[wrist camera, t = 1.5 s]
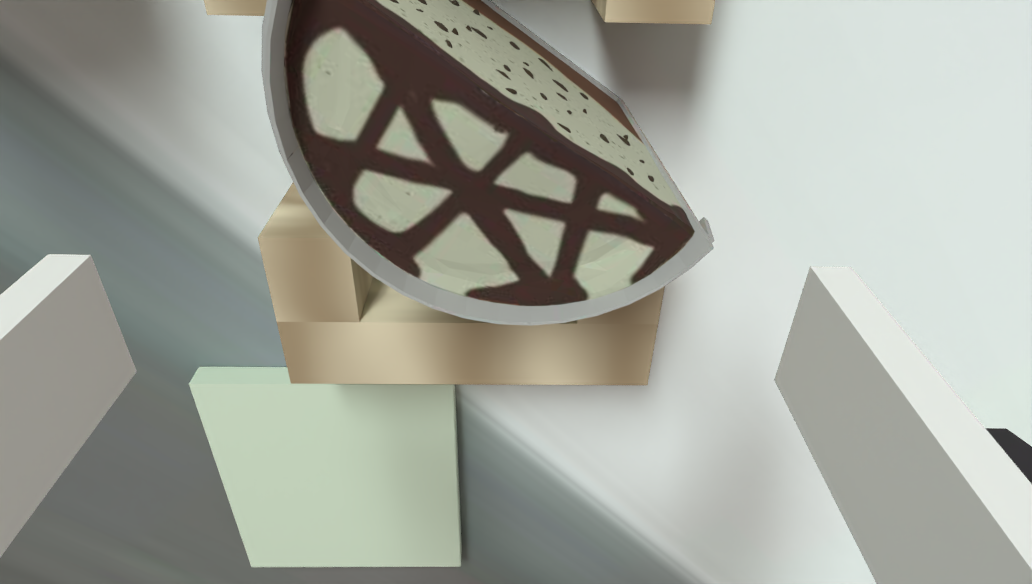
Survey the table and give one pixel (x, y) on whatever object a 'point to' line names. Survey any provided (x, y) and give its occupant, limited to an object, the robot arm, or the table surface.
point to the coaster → (335, 468)
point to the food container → (470, 160)
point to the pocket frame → (425, 331)
